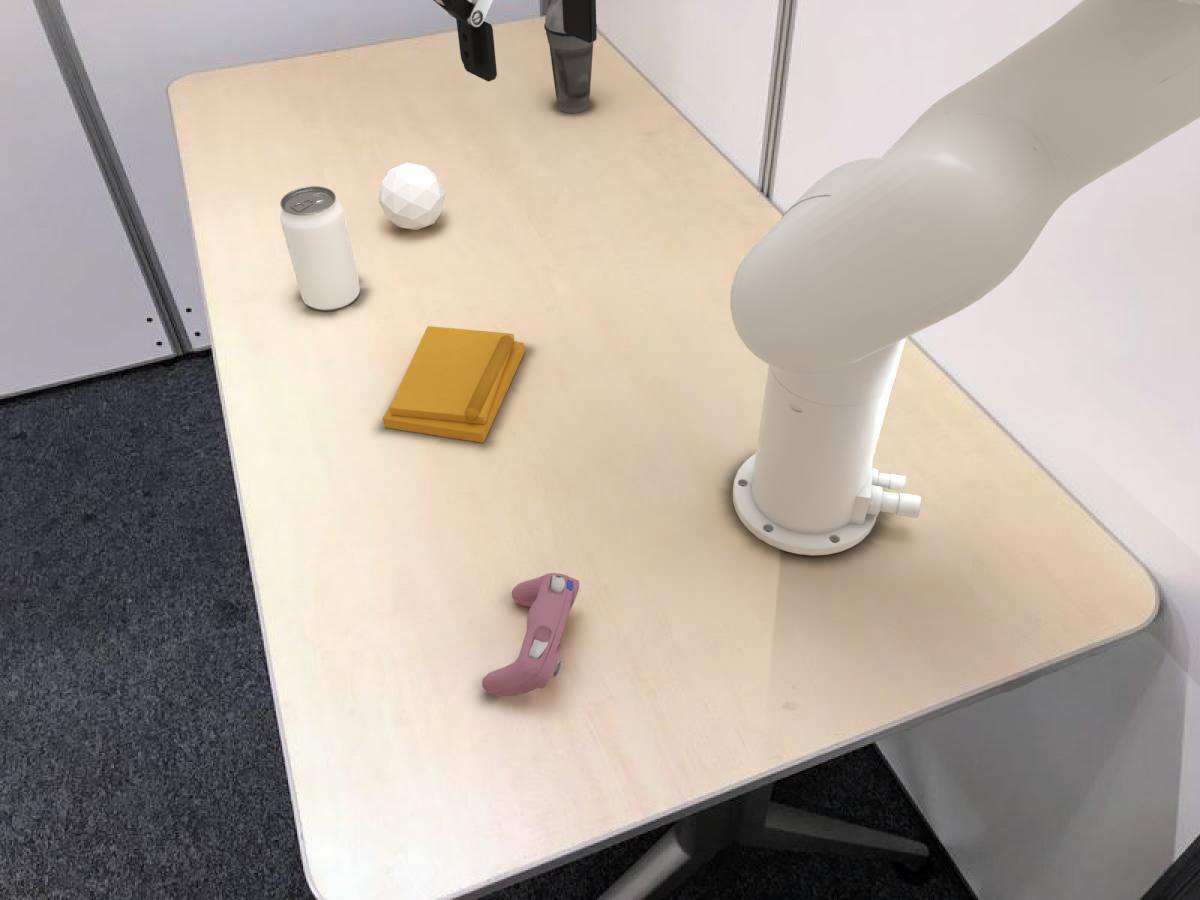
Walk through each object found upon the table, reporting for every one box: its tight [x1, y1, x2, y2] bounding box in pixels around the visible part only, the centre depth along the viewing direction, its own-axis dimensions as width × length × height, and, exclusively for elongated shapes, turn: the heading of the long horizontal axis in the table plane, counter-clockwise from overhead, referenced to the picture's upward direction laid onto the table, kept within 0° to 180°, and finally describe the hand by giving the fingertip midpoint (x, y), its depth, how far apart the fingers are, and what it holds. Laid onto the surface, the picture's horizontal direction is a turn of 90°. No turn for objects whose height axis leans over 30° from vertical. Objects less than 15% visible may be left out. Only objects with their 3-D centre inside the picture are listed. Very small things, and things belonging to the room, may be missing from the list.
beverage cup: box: [544, 0, 598, 114], centre depth 134 cm, size 7×7×20 cm
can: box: [279, 185, 361, 312], centre depth 104 cm, size 6×6×12 cm
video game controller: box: [481, 572, 580, 697], centre depth 73 cm, size 10×5×7 cm, turn 168°
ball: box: [377, 162, 446, 231], centre depth 116 cm, size 8×8×8 cm
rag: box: [382, 325, 526, 444], centre depth 96 cm, size 10×14×3 cm
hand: (531, 55), depth 73 cm, fingers open, 9 cm apart
